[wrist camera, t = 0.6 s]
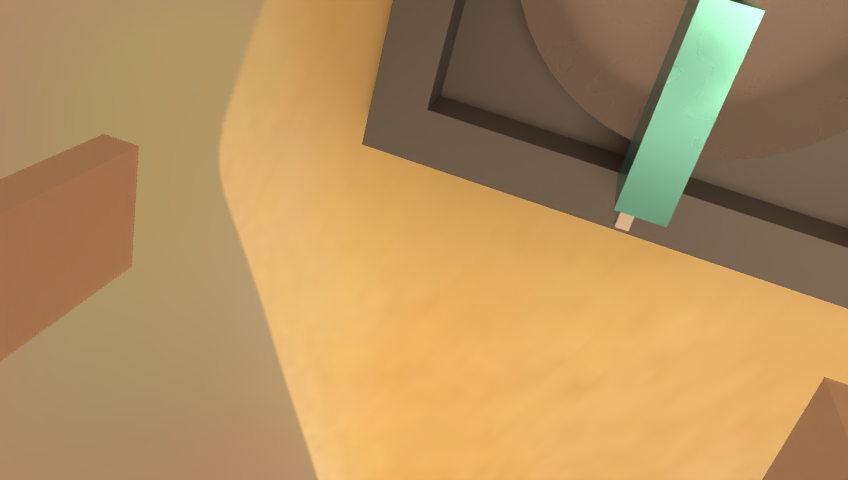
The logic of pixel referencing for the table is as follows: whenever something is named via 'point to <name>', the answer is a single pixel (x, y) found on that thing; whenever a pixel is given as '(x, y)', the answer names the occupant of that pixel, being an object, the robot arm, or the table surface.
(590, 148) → the housing
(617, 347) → the table surface
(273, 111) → the table surface
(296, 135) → the table surface
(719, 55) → the dial
